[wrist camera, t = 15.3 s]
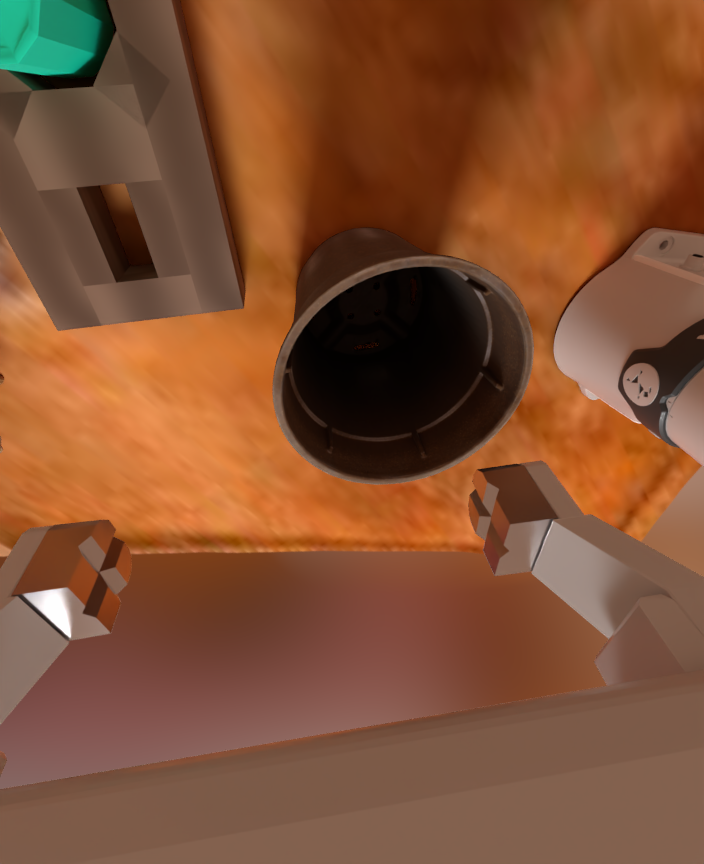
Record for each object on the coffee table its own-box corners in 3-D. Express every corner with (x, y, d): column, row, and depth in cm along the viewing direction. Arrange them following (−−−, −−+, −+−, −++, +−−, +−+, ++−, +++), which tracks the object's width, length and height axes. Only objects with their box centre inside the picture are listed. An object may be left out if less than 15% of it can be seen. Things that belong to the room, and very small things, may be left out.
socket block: (137, -190, 20) (114, -243, 17) (245, 290, 35) (243, 308, 32) (-175, -188, 19) (-261, -246, 16) (76, 310, 34) (57, 330, 31)
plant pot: (303, 394, 43) (319, 511, 30) (239, 235, 33) (224, 313, 20) (451, 348, 42) (529, 448, 30) (434, 172, 32) (541, 213, 20)
